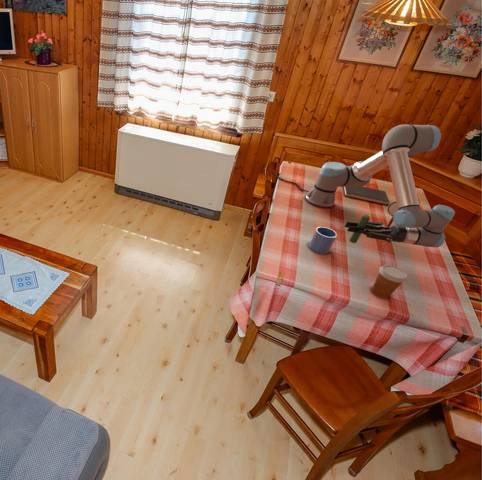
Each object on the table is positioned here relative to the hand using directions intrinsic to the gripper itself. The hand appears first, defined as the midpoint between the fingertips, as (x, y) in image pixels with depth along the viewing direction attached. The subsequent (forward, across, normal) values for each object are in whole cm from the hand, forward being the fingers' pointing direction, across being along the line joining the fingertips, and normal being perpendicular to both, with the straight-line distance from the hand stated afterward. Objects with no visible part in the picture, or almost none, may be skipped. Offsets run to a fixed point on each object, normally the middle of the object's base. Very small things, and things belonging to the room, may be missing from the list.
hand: (347, 226), depth 173 cm
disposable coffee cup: (-10, -28, -14) cm, 33 cm away
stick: (-5, 0, -8) cm, 9 cm away
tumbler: (+7, 0, -14) cm, 16 cm away
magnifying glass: (-30, +22, -14) cm, 40 cm away
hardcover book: (-36, +69, -15) cm, 79 cm away
